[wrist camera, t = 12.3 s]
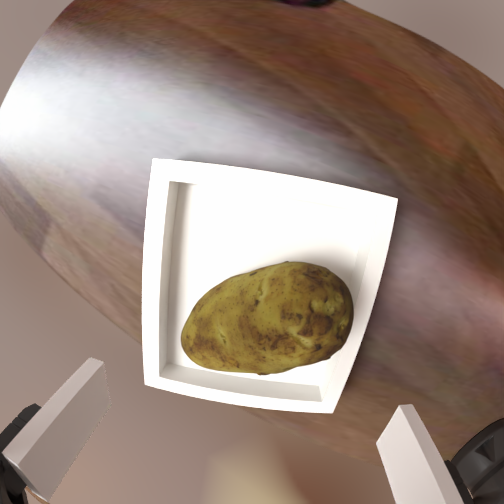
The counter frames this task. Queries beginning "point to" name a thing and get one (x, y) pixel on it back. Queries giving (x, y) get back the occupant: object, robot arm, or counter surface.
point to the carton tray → (251, 258)
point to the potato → (270, 320)
